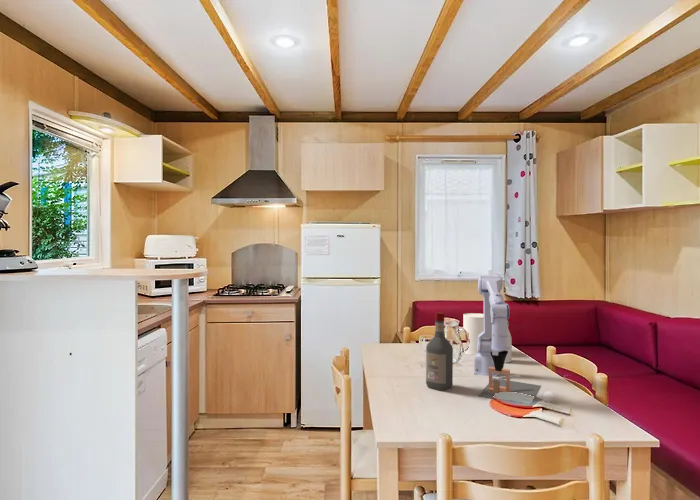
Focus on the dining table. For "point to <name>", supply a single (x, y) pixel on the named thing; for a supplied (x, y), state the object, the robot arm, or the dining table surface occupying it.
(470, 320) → the canister
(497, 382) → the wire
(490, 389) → the orange rectangular frame
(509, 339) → the milk bottle
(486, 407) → the dining table surface
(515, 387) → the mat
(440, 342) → the liquor
